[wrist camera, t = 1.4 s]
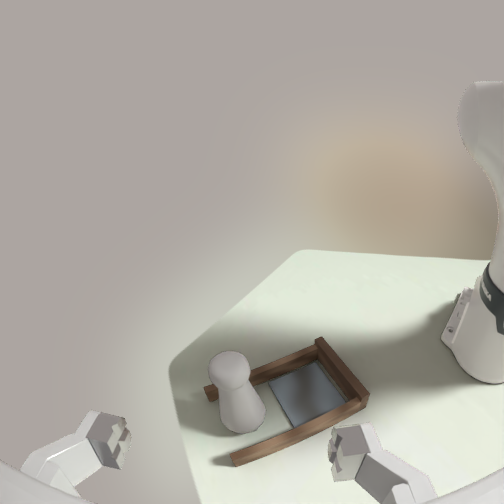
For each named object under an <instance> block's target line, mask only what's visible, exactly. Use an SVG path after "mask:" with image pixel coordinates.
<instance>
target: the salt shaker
mask: <svg viewBox="0 0 504 504" xmlns="http://www.w3.org/2000/svg"><path fill="white" fill-rule="evenodd" d="M208 372H209V378H210V380H211V382H212V383H213V384H214V385H215V386H216V387H217V388H218V391H219V409H220V417H221V422H222V423H223V424H224V425H225V426H226V427H227V428H228V429H229V430H231V431H234V432H237V433H240V434H245V433H249V432H253V431H256V430H257V428H258V427H259V426H260V425H261V424H262V423H263V422H264V419H265V415H266V409H265V406H264V403H263V401H262V400H261V398H260V397H259V395H258V394H257V392H256V391H255V389H254V388H253V386H252V385H251V383H250V381H249V380H248V379H249V376H250V372H251V371H250V366H249V363H248V360H247V359H246V357H245V356H243V355H242V354H241V353H239V352H235V351H224V352H222V353H219V354H217V355H216V356H214V357H213V358H212V359H211V360H210V363H209V365H208Z"/></svg>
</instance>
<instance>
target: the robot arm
mask: <svg viewBox="0 0 504 504" xmlns="http://www.w3.org/2000/svg"><path fill="white" fill-rule="evenodd" d="M458 127H459V131H460V136H461V138H462V141H463V143H464V145H465V147H466V149H467V151H468V152H469V154H470V155H471V157H472V158H473V159H474V160H475V161H476V162H477V163H478V165H479V166H480V167H481V168H482V170H483V171H484V172H485V174H486V176H487V177H488V179H489V181H490V183H491V185H492V187H493V190H494V193H495V196H496V200H497V205H498V218H499V219H498V228H497V235H496V241H495V246H494V250H493V254H492V258H491V261H490V262H489V263H488V265H487V267H486V268H485V270H484V272H483V275H481V276H479V277H477V279H476V282H475V285H474V288H468V287H464V290H463V291H462V293H461V295H460V297H459V299H458V302H457V304H456V306H455V308H454V310H453V313H452V315H451V317H450V319H449V321H448V323H447V325H446V327H445V329H444V331H443V333H442V335H441V340H442V341H443V342H444V343H445V344H446V345H447V346H448V347H449V348H450V349H451V350H452V352H453V353H454V355H455V357H456V359H457V361H458V363H459V364H460V366H461V367H462V368H463V369H464V370H465V371H466V372H467V373H468V374H469V375H471V376H472V377H474V378H476V379H478V380H480V381H483V382H487V383H502V382H504V82H500V81H486V82H473V83H472V84H471V85H470V86H469V87H468V88H467V89H466V91H465V92H464V94H463V96H462V98H461V100H460V103H459V107H458ZM450 332H451V333H450ZM125 426H126V421H125V418H123V417H119V416H114V415H110V414H106V413H102V412H98V411H94V410H90V411H89V412H88V413H87V415H86V416H85V418H84V420H83V421H82V423H81V424H80V426H79V427H78V429H77V431H76V432H75V434H69V435H67V436H65V437H63V438H61V439H59V440H57V441H55V442H53V443H51V444H48V445H46V446H44V447H42V448H40V449H37V450H35V451H33V452H31V454H30V455H29V457H28V458H27V460H26V461H25V463H24V464H23V466H22V467H21V469H20V470H17V469H15V468H14V467H12V466H10V465H8V464H7V463H5V462H3V461H2V460H0V504H96V503H93V502H90V501H87V500H84V499H82V498H81V496H80V494H79V493H78V492H77V490H76V489H75V488H74V487H75V486H76V485H77V484H79V483H80V482H82V481H83V480H84V479H86V478H87V477H89V476H90V475H91V474H93V473H94V472H96V471H97V470H98V469H99V468H101V467H102V465H103V466H107V467H111V468H116V469H120V470H121V468H122V465H123V463H124V460H125V456H124V453H126V452H127V451H129V448H130V446H131V435H130V431H129V430H128V429H127V428H126V427H125ZM331 434H332V438H331V439H330V440H329V444H328V457H329V461H330V462H331V463H332V464H333V465H332V468H331V471H332V476H333V480H334V482H338V481H346V480H354V479H355V481H356V482H357V483H358V484H359V485H360V486H361V487H362V488H364V489H365V490H366V491H367V492H368V493H369V494H370V495H371V496H372V497H374V498H375V499H376V500H377V501H378V502H379V503H380V504H504V468H501V469H499V470H497V471H496V472H494V473H492V474H490V475H488V476H486V477H484V478H482V479H480V480H478V481H476V482H474V483H472V484H469V485H467V486H465V487H463V488H460V489H458V490H456V491H453V492H451V493H448V494H446V495H443V496H441V497H438V496H437V494H436V492H435V490H434V487H433V485H432V483H431V481H430V479H429V477H428V475H426V474H425V473H423V472H421V471H420V470H418V469H416V468H415V467H413V466H411V465H410V464H408V463H406V462H405V461H403V460H402V459H400V458H398V457H397V456H395V455H394V454H392V453H391V452H389V451H387V450H384V451H383V449H382V446H381V444H380V441H379V439H378V436H377V434H376V432H375V429H374V427H373V424H372V423H371V422H368V423H362V424H353V425H346V426H337V427H333V429H332V432H331Z"/></svg>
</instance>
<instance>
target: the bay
mask: <svg viewBox="0 0 504 504" xmlns="http://www.w3.org/2000/svg"><path fill="white" fill-rule="evenodd" d="M317 359H318V360H319V361H320V363H321V364H322V365H323V367H324V368H325V369H326V371H327V372H328V373H329V374H330V376H331V377H332V378H333V380H334V381H335V382H336V384H337V385H338V386H339V387H340V389H341V390H342V391H343V393H344V394H345V395H346V396H347V398H348V399H349V400H350V401H349V402H347V403H346V402H345V400H344V399H343V398H342V396H341V395H340V394H339V392H338V391H337V390H336V389H335V387H334V386H333V385H332V383H331V382H330V381H329V379H328V378H327V377H326V375H325V374H324V373H323V371H322V370H321V369H320V367H319V366H318V365H317V363H316V362H314V363H312V364H310V365H307V366H305V367H303V368H301V369H298V370H296V371H294V372H292V373H289V374H287V375H285V376H282V377H280V378H277V379H275V380H273V381H270V382H268V384H269V385H270V387H271V389H272V391H273V392H274V394H275V396H276V398H277V399H278V401H279V403H280V404H281V406H282V408H283V410H284V411H285V413H286V415H287V416H288V418H289V420H290V421H291V423H292V425H293V426H294V429H292V430H290V431H288V432H285V433H283V434H281V435H278V436H276V437H273V438H271V439H269V440H266V441H264V442H261V443H258V444H256V445H253V446H250V447H248V448H245V449H242V450H239V451H237V452H234V453H231V454H230V457H231V459H232V461H233V463H234V464H235V466H236V467H238V466H241V465H243V464H246V463H249V462H252V461H254V460H257V459H260V458H262V457H265V456H267V455H270V454H272V453H275V452H277V451H280V450H282V449H284V448H287V447H289V446H291V445H294V444H296V443H298V442H300V441H302V440H304V439H307V438H309V437H311V436H313V435H315V434H317V433H319V432H321V431H323V430H325V429H327V428H329V427H331V426H333V425H335V424H337V423H338V422H340V421H342V420H344V419H346V418H348V417H349V416H351V415H353V414H355V413H357V412H358V411H360V410H362V409H363V408H365V407H366V404H367V401H368V398H369V395H370V393H369V392H368V391H367V390H366V388H365V387H364V386H363V385H362V384H361V383H360V381H359V380H358V379H357V378H356V377H355V375H354V374H353V373H352V372H351V371H350V369H349V368H348V367H347V366H346V365H345V363H344V362H343V361H342V360H341V359H340V358H339V356H338V355H337V354H336V353H335V352H334V350H333V349H332V348H331V347H330V346H329V344H328V343H327V342H326V341H325V340H324V338H323V337H319V338H317V339H315V344H314V345H311V346H309V347H307V348H305V349H302V350H300V351H298V352H295V353H293V354H291V355H288V356H286V357H284V358H281V359H279V360H276V361H274V362H271V363H269V364H266V365H264V366H261V367H259V368H256V369H253V370H251V372H250V376H249V379H248V380H249V381H250V383H251V385H252V386H256V385H258V384H261V383H263V382H266V381H268V380H271V379H273V378H276V377H278V376H280V375H283V374H285V373H287V372H290V371H292V370H294V369H297V368H299V367H301V366H304V365H306V364H308V363H310V362H312V361H315V360H317ZM204 390H205V393H206V395H207V397H208V399H209V401H210V402H211V401H214V400H217V399H219V391H218V388H217V387H216V386H215V385H214V384H212V385H209V386H206V387H204Z"/></svg>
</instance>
